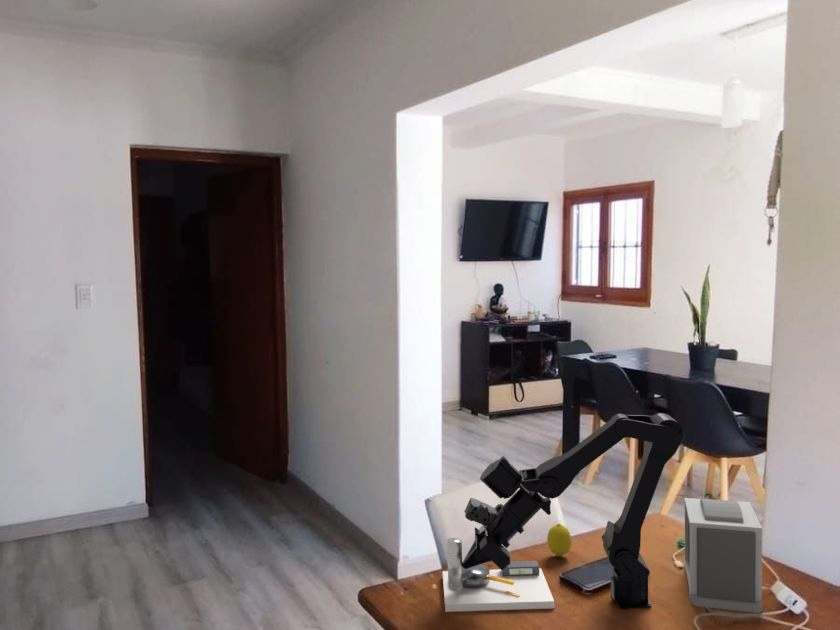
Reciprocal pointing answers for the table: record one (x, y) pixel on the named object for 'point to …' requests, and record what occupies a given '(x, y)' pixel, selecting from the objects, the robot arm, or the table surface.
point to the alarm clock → (723, 554)
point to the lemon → (559, 540)
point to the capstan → (466, 570)
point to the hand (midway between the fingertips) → (463, 566)
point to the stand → (503, 591)
